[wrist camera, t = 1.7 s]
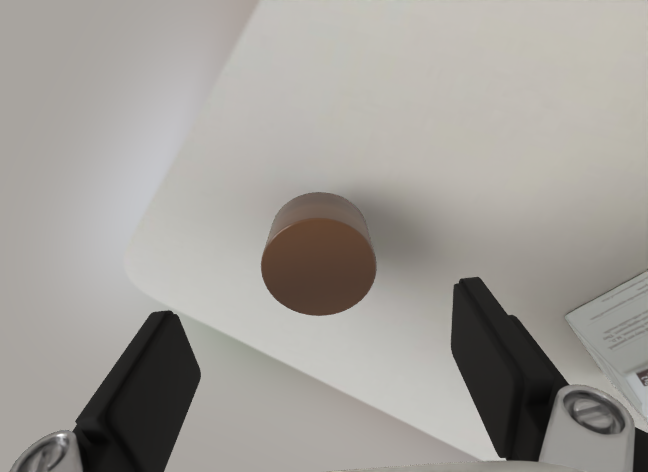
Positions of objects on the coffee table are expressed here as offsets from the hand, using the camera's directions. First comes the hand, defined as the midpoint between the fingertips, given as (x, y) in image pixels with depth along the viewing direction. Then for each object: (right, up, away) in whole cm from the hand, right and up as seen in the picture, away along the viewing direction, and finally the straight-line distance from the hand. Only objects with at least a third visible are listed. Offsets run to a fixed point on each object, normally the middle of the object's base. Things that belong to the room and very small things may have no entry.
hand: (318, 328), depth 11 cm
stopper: (0, +4, +7) cm, 9 cm away
